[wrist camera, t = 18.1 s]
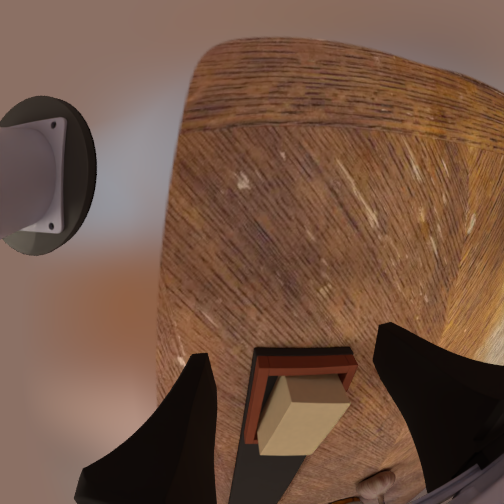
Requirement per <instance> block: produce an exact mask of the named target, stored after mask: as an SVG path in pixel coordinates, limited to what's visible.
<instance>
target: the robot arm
mask: <svg viewBox="0 0 504 504" xmlns="http://www.w3.org/2000/svg"><path fill="white" fill-rule="evenodd" d="M55 122H56V127H55V128H54V124H55ZM66 130H67V120H66V119H65V118H63V117H58V118H52V119H46V120H40V121H35V122H29V123H25V124H20V125H15V126H11V127H0V239H2V238H4V237H6V236H8V235H11V234H13V233H15V232H17V231H30V232H43V233H57V234H58V233H61V232H62V231H63V230H64V205H63V177H64V154H65V140H66ZM52 223H53V225H54V228H53V227H52ZM373 363H374V365H375V368H376V370H377V372H378V374H379V377H380V379H381V381H382V382H383V384H384V386H385V387H386V389H387V390H388V392H389V394H390V395H391V397H392V399H393V400H394V402H395V404H396V405H397V407H398V408H399V410H400V412H401V413H402V415H403V417H404V419H405V421H406V423H407V426H408V428H409V430H410V433H411V435H412V438H413V441H414V443H415V446H416V449H417V452H418V455H419V459H420V462H421V466H422V469H423V474H424V479H425V483H426V489H427V493H428V494H426V495H424V496H422V497H421V498H418V499H417V500H414V501H412V502H410V503H408V504H441V503H442V502H444V501H446V500H448V499H449V498H451V497H452V496H453V498H452V500H451V501H449V502H448V503H446V504H504V366H501V365H494V364H488V363H484V362H480V361H476V360H472V359H469V358H466V357H463V356H460V355H457V354H455V353H452V352H450V351H447V350H445V349H443V348H441V347H439V346H436V345H434V344H432V343H430V342H428V341H426V340H425V339H423V338H421V337H419V336H417V335H415V334H413V333H411V332H410V331H408V330H406V329H404V328H402V327H400V326H398V325H396V324H394V323H392V322H389V323H385V324H381V325H379V327H378V334H377V339H376V345H375V350H374V355H373ZM216 420H217V388H216V384H215V380H214V376H213V372H212V369H211V365H210V361H209V357H208V353H198V354H192V355H191V356H190V358H189V360H188V362H187V364H186V366H185V367H184V369H183V371H182V373H181V374H180V376H179V378H178V379H177V381H176V382H175V384H174V386H173V387H172V389H171V390H170V392H169V393H168V395H167V396H166V397H165V399H164V400H163V401H162V403H161V404H160V406H159V407H158V408H157V409H156V411H155V412H154V413H153V414H152V415H151V417H150V418H149V419H148V420H147V421H146V422H145V423H144V424H143V425H142V426H141V427H140V428H139V429H138V430H137V431H136V432H135V433H134V434H133V435H132V436H131V437H130V438H128V439H127V440H126V441H125V442H124V443H122V444H121V445H120V446H118V447H117V448H116V449H115V450H113V451H112V452H110V453H109V454H107V455H106V456H104V457H103V458H101V459H100V460H98V461H96V462H94V463H93V464H91V465H89V466H87V467H85V468H83V470H82V472H81V475H80V478H79V481H78V485H77V488H76V492H75V496H74V500H75V501H76V502H77V504H217V500H216V488H215V474H214V446H215V433H216Z"/></svg>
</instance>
